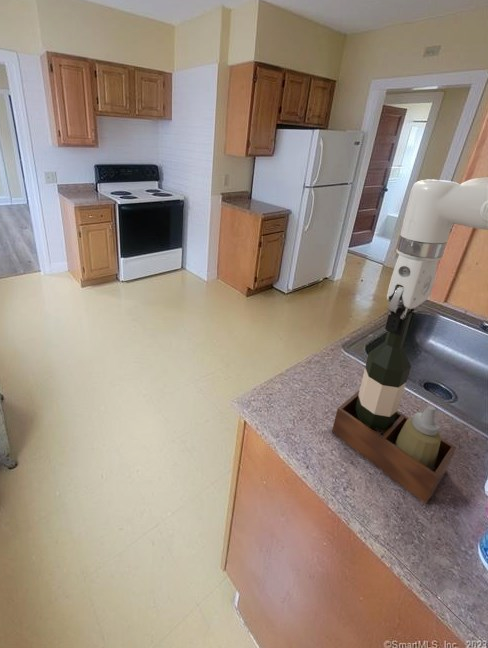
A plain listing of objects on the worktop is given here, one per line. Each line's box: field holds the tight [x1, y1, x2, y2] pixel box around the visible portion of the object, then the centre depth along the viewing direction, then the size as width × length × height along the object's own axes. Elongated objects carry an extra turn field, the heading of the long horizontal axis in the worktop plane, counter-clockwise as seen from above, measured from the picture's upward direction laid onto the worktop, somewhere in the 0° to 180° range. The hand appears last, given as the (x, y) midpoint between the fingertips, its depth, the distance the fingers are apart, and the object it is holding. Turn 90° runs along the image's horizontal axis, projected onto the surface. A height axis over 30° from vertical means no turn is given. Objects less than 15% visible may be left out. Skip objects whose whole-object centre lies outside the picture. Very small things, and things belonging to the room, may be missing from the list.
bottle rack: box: [331, 389, 458, 504], centre depth 75 cm, size 21×11×8 cm, turn 38°
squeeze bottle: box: [394, 405, 442, 472], centre depth 69 cm, size 8×8×18 cm
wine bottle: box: [355, 306, 413, 430], centre depth 72 cm, size 8×8×30 cm
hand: (397, 328), depth 68 cm, fingers closed on wine bottle, 3 cm apart
